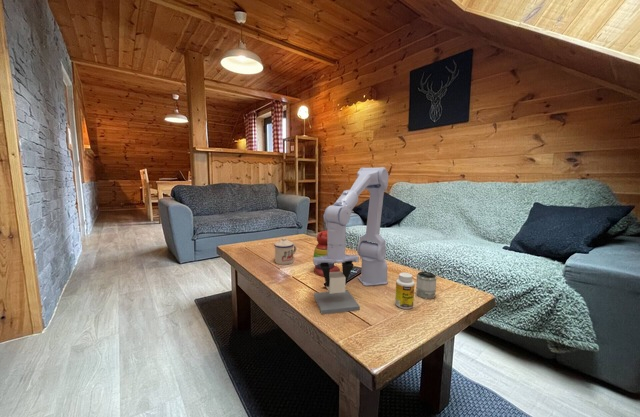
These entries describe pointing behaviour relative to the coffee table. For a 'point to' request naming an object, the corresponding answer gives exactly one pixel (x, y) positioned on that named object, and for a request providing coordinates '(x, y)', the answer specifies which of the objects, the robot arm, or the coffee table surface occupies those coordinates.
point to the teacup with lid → (284, 252)
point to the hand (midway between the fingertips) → (335, 284)
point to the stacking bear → (323, 253)
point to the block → (336, 282)
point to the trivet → (336, 302)
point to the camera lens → (426, 285)
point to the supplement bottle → (404, 291)
